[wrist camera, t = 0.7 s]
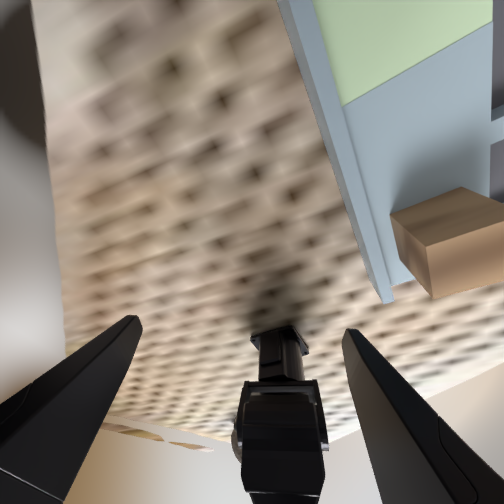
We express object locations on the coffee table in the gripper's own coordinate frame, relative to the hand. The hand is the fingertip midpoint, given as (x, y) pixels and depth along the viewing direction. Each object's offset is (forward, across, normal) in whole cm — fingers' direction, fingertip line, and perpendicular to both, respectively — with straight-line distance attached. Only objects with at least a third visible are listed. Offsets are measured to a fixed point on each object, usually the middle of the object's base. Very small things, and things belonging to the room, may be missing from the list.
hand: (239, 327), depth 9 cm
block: (+11, -14, 0) cm, 18 cm away
